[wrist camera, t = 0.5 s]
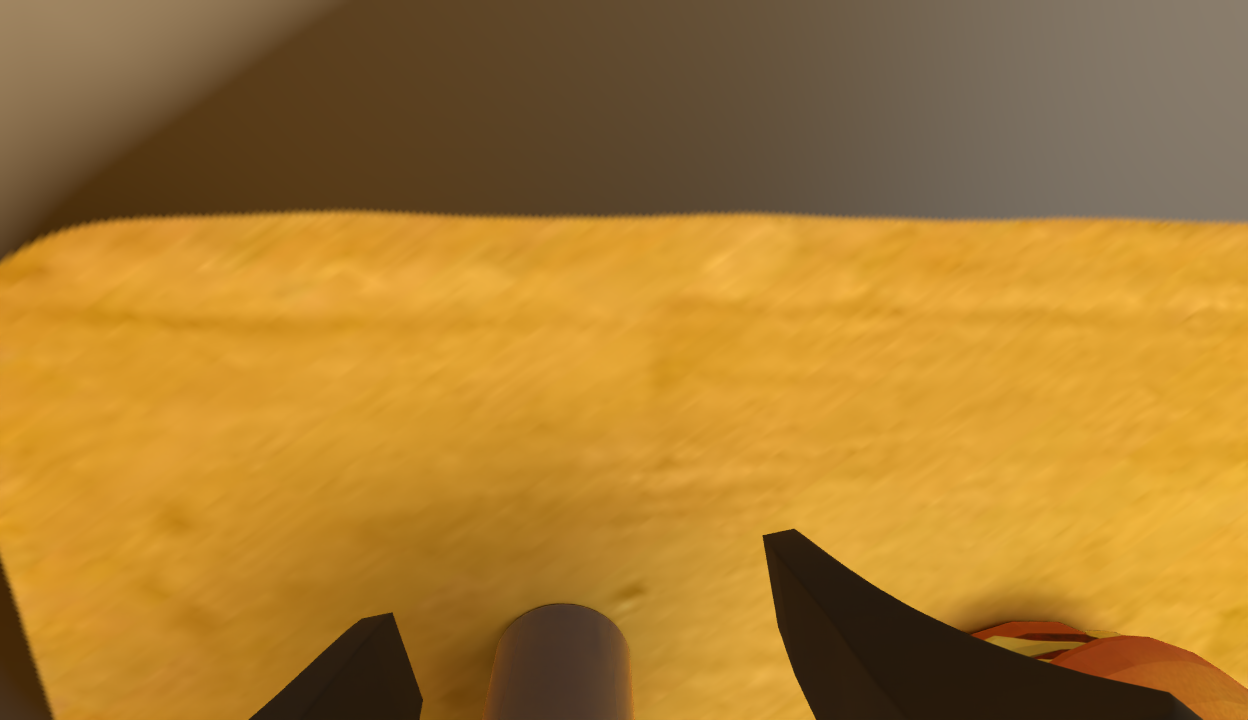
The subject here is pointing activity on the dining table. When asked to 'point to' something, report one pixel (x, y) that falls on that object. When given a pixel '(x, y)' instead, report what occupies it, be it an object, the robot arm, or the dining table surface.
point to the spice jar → (561, 668)
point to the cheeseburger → (1128, 664)
